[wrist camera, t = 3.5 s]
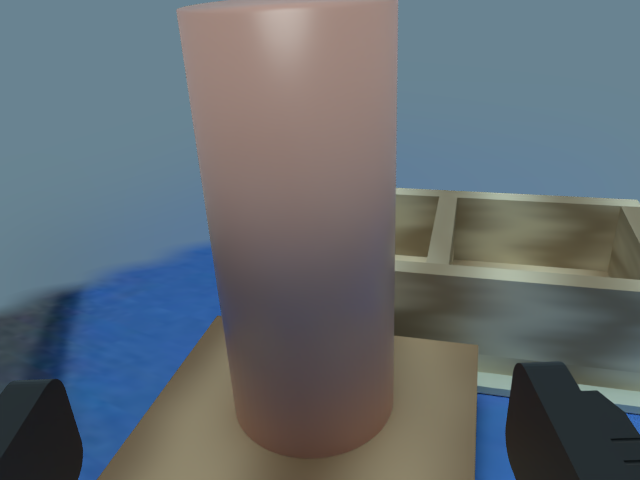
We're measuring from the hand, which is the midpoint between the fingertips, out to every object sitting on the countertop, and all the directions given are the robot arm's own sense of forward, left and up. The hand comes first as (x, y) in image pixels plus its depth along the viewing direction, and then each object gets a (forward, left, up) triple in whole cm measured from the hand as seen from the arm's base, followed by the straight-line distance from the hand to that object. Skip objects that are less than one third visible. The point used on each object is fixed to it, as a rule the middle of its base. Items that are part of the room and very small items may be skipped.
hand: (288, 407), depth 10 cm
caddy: (+2, +20, -11) cm, 22 cm away
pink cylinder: (-2, +9, -8) cm, 12 cm away
